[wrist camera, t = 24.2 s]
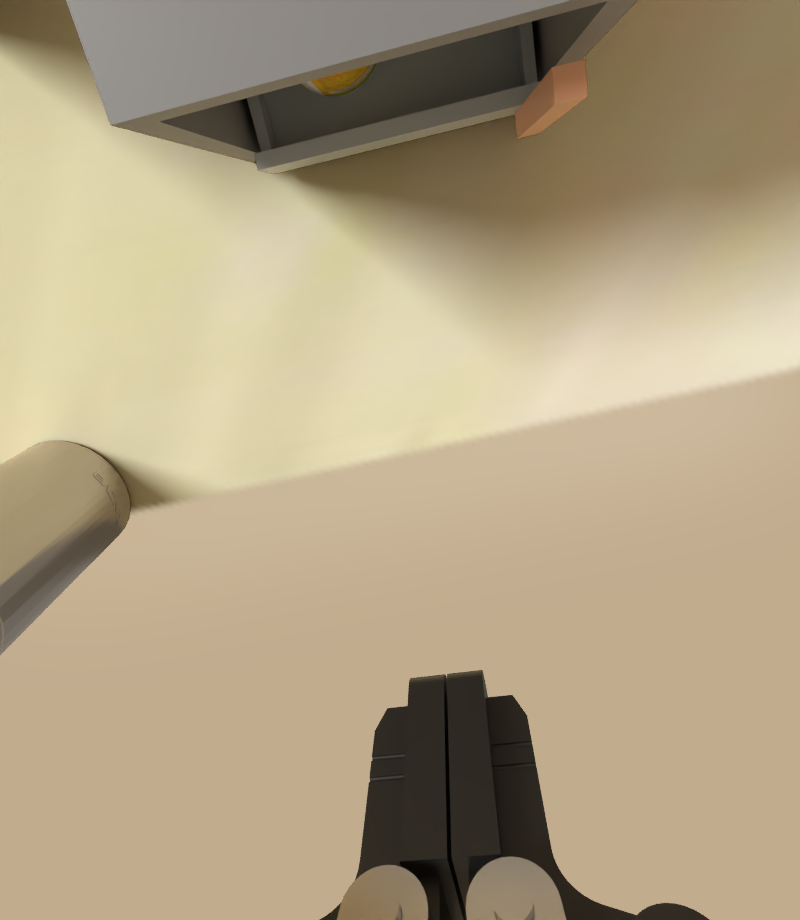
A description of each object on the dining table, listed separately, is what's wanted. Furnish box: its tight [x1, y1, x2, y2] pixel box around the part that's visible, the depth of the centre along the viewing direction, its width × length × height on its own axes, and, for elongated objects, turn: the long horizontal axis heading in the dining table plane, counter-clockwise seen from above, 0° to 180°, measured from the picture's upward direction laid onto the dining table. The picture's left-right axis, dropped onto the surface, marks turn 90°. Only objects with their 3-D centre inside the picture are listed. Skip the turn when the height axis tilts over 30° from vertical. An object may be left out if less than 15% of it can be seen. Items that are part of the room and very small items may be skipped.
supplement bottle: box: [301, 63, 378, 97], centre depth 25 cm, size 5×5×10 cm
